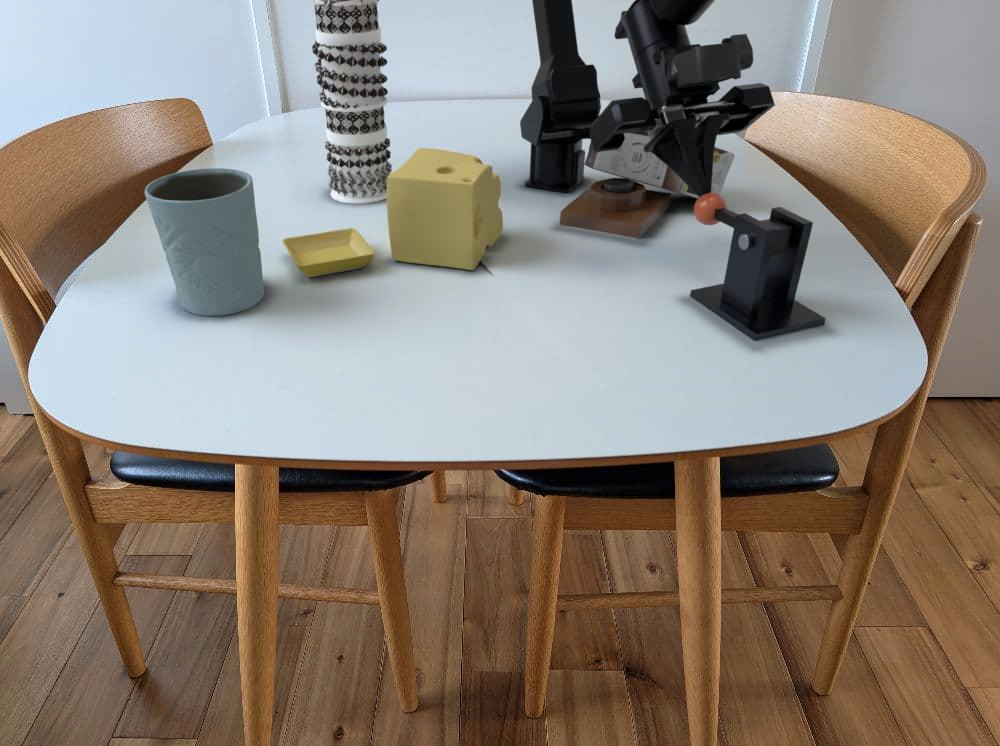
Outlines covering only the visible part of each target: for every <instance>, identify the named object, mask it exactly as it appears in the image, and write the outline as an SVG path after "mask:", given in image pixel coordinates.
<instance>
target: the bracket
mask: <svg viewBox="0 0 1000 746" xmlns="http://www.w3.org/2000/svg"><path fill="white" fill-rule="evenodd" d="M769 215H770V216H769V219H774V220H777V221H779V222H781V223H783V224H786V225H788V226H790V227H792V233H791V238H790V243H789V248H788V252H787V253H782V254H776V255H771V253H772V248H773V244H774V239H775V234H776V229H775V228H773V227H771V226H769V225H767V224H765V223H763V222H761V220H759V219H757V218H756V217H753V216H751V215H750V214H747V213H745V212H744V213H743V212H742V213H737V215H736V220H735V225H734V228H733V232H732V236H731V242H730V247H729V254H728V259H727V264H726V270H725V274H724V278H723V279H724V280H723V283H719V284H715V285H709V286H704V287H700V288H695V289H691V290H690V293H689V297H690V298H692V299H693V300H695V301H696V302H698V303H699V304H701V305H702V306H703V307H705V308H706V309H708V310H709V311H711V313H713V314H715V315H716V316H718V317H719V318H720V319H722V320H724V321H725V322H726V323H728V324H729V325H730V326H732V327H733V328H735V329H736V330H738V331H739V332H741V333H742V334H743V335H745V336H746V337H747V338H749V339H751V340H752V341H753V342H757V341H761V340H765V339H769V338H773V337H777V336H782V335H787V334H791V333H796V332H800V331H803V330H804V331H805V330H808V329H813V328H816V327H820V326H824V325H825V323H826V319H827V318H826V317H825V316H823V315H821V314H819V313H818V312H816V311H814V310H813V309H811V308H809V307H808V306H806V305H804V304H802V303H801V302H799V301H798V300H796V295H797V291H798V286H799V283H800V279H801V275H802V270H803V266H804V261H805V258H806V253H807V251H808V247H809V246H808V245H809V243H810V242H809V241H810V238H811V233H812V229H813V225H814V222H813V221H811V220H809V219H806V218H804V217H802V216H801V215H799V214H797V213H794V212H792V211H790V210H788V209H786V208H784V207H782V206H777V207H772V208H771V211H770V214H769Z"/></svg>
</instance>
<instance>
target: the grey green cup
mask: <svg viewBox="0 0 1000 746" xmlns="http://www.w3.org/2000/svg"><path fill="white" fill-rule="evenodd" d="M144 196H145V198H146V203H147V205H148V208H149V211H150V214H151V217H152V220H153V223H154V226H155V227H156V230H157V234H158V237H159V240H160V244H161V246H162V249H163V252H164V253H165V256H166V257H165V258H166V261H167V265H168V268H169V271H170V274H171V277H172V279H173V283H174V286H175V291H176V295H177V298H178V302H179V304H180V306H181V307H182V309H183V310H184V311H185V312H187V313H190V314H193V315H196V316H204V317H221V316H222V317H223V316H229V315H233V314H238V313H241V312H243V311H247V310H249V309H250V308H253V307H255V306H256V305H257V304H259V303H260V302H261V301H262V299H263V298H264V295H265V283H264V277H263V265H262V255H261V250H260V247H259V246H260V245H259V243H260V237H259V226H258V225H259V224H258V218H257V217H258V216H257V211H256V200H255V199H256V198H255V190H254V181H253V177H252V176H251V175H250V174H249V173H248V172H246V171H243V170H239V169H233V168H223V167H222V168H220V167H218V168H217V167H216V168H215V167H211V168H210V167H209V168H197V169H189V170H184V171H183V170H182V171H178V172H174V173H171V174H167V175H164V176H161V177H158V178H157V179H154V180H152V181H151V182H150V183H148V184H147V185H146V187H145V189H144Z"/></svg>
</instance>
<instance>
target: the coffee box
mask: <svg viewBox="0 0 1000 746" xmlns="http://www.w3.org/2000/svg"><path fill="white" fill-rule="evenodd" d="M624 137H625V140H624V142H623V143H622V145H621V147H620V148H619V149H617V150H609V151H602V152H595V151H594V149H593V146H592V142H591V141H590V143H589V146H588V152H587V156H586V157H585V163H584V166H585V167H588V168H590V169H593V170H595V171H598V172H601V173H605V174H609V175H613V176H615V177H618V178H625V179H629V180H632V181H635V182H637V183H640V184H643V185H648V186H650V187H655V188H657V189H658V188H659V189H662V190H666V191H670V192H673V193H677V194H680V195H684V196H688V197H691V198H695V199H698V198H699V196H697V194H696V193H695V192H694V191H693V190H692V189H691V188H690V187H689V186H688V185H687V184H686V183H685V182H684V181H683V180H682V179H681V178H680V177H679V176H678V175H677V174H676V173H675V172H674V171H673V170H672V169H671V168H669V167H668V166H667V165H666V164H665V163H664V162H662V161H661V160H660V159H659V158H658V157H656V156H655V155H654V154H653V153H651V152H648V153H646V152H645V151H644V146H645V145H646V144H647V143H648V142H649V141H650V140H649V137H648V132H647V130H646V131H638V132H631V133H624ZM734 159H735V153H734V152H731V151H728V150H725V149H722V148H718V147H716V146H715V147H714V156H713V171H712V187H711V193H717V194H719V195H721V192H722V189H723V187H724V184H725V181H726V179H727V176H728V174H729V171H730V169H731V166H732V164H733V161H734Z"/></svg>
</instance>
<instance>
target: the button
mask: <svg viewBox="0 0 1000 746" xmlns="http://www.w3.org/2000/svg"><path fill="white" fill-rule="evenodd" d="M606 179H607V180H606ZM606 179H604V180H605V181H604V187H603V190H604V191H606V192H610V193H616V194H619V193H630V192H633V189H634V182H633V180H630V179H626V178H623V177H610V178H606Z"/></svg>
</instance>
